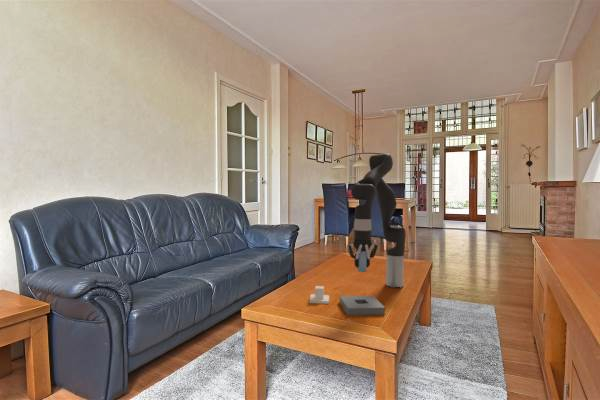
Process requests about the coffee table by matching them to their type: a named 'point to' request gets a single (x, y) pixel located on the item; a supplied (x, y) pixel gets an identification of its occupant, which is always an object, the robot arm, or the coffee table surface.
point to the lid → (319, 296)
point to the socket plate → (362, 305)
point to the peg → (362, 262)
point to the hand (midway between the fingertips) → (361, 267)
